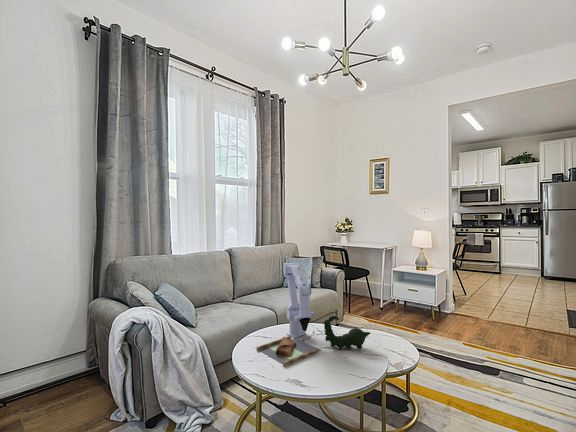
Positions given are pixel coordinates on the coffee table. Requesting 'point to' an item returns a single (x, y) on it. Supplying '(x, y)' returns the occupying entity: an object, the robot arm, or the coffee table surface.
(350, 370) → the coffee table surface
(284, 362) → the lane rails
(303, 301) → the robot arm
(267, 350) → the zone mats
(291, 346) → the sunglasses case
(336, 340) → the toy figurine
